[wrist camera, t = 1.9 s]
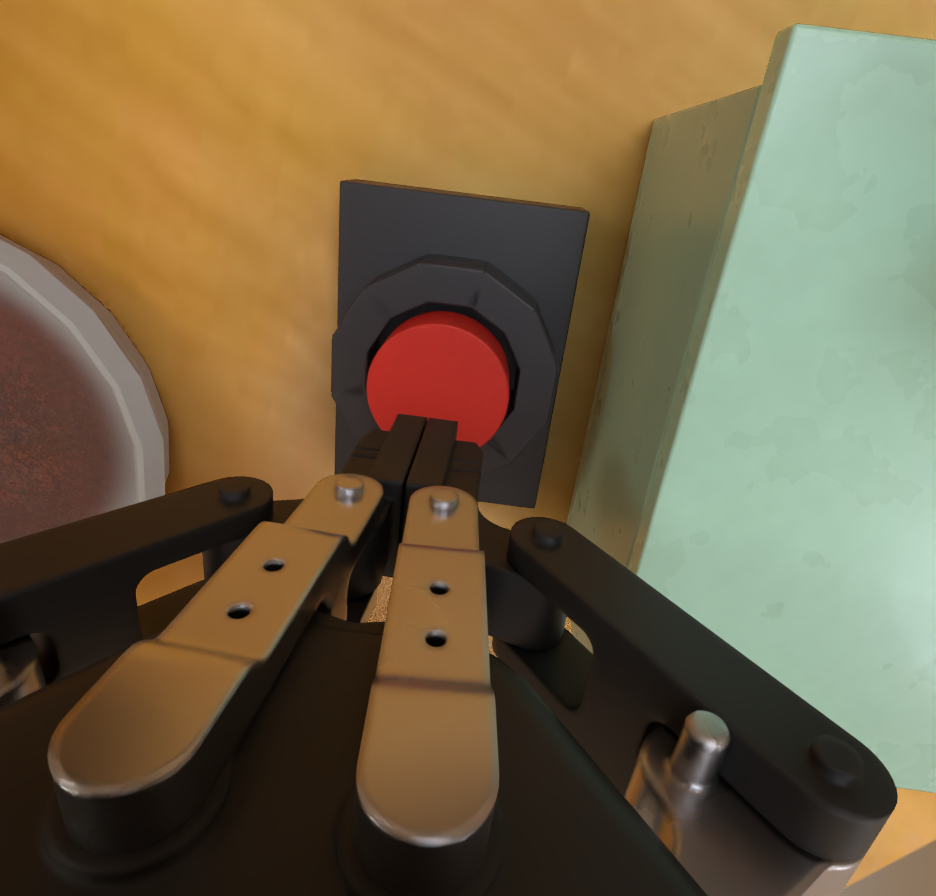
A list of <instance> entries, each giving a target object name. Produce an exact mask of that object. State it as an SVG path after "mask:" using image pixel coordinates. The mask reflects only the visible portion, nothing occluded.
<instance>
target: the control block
mask: <svg viewBox="0 0 936 896" xmlns="http://www.w3.org/2000/svg"><path fill="white" fill-rule="evenodd" d="M589 216H590V213H589V212H588V211H586V210H585V209H583V208H580V207H572V206H564V205H556V204H548V203H540V202H532V201H524V200H516V199H508V198H500V197H492V196H484V195H476V194H468V193H461V192H453V191H445V190H437V189H429V188H421V187H413V186H405V185H397V184H389V183H381V182H373V181H365V180H357V179H355V180H344V181H341V182H340V213H339V267H338V320H337V329H336V331H335V333H334V334H333V336H332V337H333V338H332V369H331V392H332V394H331V395H332V397H333V399H334V401H335V403H336V427H335V475H337V474H340V473H341V471H342V469H343V467H344V466H345V464H346V462H347V461H348V459H349V457H350V456H351V454H352V452H353V450H354V449H355V448H356V445H357V444H358V442H359V440H360V438H361V437H362V436H364V435H365V434H367V433H369V432H371V431H373V430H375V429H376V430H381V429H380V427H379V426H378V424H377V423H376V421H375V419H374V417H373V415H372V413H371V410H370V407H369V404H368V399H367V389H366V384H367V376H368V372H369V368H370V365H371V363H372V360H373V358H374V357H375V355H376V353H377V352H378V350H379V349H380V348H381V346H382V345H383V343H384V342H385V341H386V339H387V338H388V337H389V335H390V334H391V333H392V332H393V331H394V330H395V329H396V328H397V327H398V326H399V325H400V324H402V323H403V322H405V321H406V320H408V319H410V318H412V317H414V316H416V315H419V314H422V313H426V312H431V311H450V312H455V313H459V314H462V315H465V316H468V317H470V318H472V319H474V320H476V321H478V322H479V323H481V324H482V325H483V326H485V327H486V328H487V329H488V330H489V331H490V332H491V333H492V334H493V335H494V336H495V337H496V339H497V340H498V342H499V343H500V345H501V347H502V348H503V350H504V352H505V355H506V358H507V361H508V366H509V376H510V384H509V404H508V408H507V412H506V415H505V418H504V420H503V422H502V424H501V426H500V428H499V429H498V430H497V432H496V433H495V434H494V436H493V437H492V438H491V439H490V440H489V441H488V442H486V443H485V444H484V445H483V446H481V447H480V449H481V450H482V451H483V462H482V470H481V479H480V488H479V496H478V501H481V502H488V503H496V504H503V505H511V506H518V507H526V508H535V505H536V499H537V494H538V489H539V483H540V478H541V473H542V467H543V462H544V457H545V451H546V446H547V441H548V435H549V430H550V425H551V419H552V414H553V408H554V403H555V398H556V392H557V387H558V382H559V376H560V371H561V366H562V360H563V355H564V350H565V344H566V339H567V334H568V328H569V323H570V318H571V312H572V307H573V302H574V296H575V291H576V286H577V280H578V275H579V270H580V264H581V259H582V253H583V248H584V243H585V237H586V232H587V227H588V221H589Z"/></svg>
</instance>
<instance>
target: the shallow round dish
mask: <svg viewBox="0 0 936 896" xmlns="http://www.w3.org/2000/svg"><path fill="white" fill-rule="evenodd" d="M168 474H169V430H168V420H167V417H166V414H165V411H164V408H163V405H162V403H161V400H160V397H159V394H158V391H157V389H156V386H155V383H154V380H153V377H152V375H151V372H150V369H149V366H148V365H147V364H146V362H145V361H144V359H143V358H142V356H141V355H140V353H139V352H138V351H137V349H136V348H135V346H134V345H133V343H132V342H131V341H130V339H129V338H128V336H127V335H126V333H125V332H124V330H123V329H122V328H121V326H120V325H119V323H118V322H117V320H116V319H115V317H114V316H113V315H112V313H111V312H110V311H109V310H108V309H107V308H106V307H104V306H103V305H102V304H101V303H100V302H99V301H98V300H97V299H95V298H94V297H93V296H92V295H91V294H90V293H89V292H88V291H86V290H85V289H84V288H83V287H82V286H81V285H80V284H78V283H77V282H76V281H75V280H74V279H73V278H72V277H71V276H69V275H68V274H67V273H66V272H65V271H64V270H63V269H62V268H60V267H59V266H58V265H57V264H55V263H53V262H51V261H49V260H47V259H45V258H44V257H42V256H40V255H38V254H36V253H34V252H32V251H30V250H28V249H26V248H24V247H23V246H21V245H19V244H17V243H15V242H13V241H11V240H9V239H7V238H5V237H4V236H2V235H0V544H1V543H4V542H7V541H11V540H14V539H18V538H21V537H24V536H28V535H31V534H34V533H38V532H41V531H45V530H48V529H51V528H55V527H58V526H62V525H65V524H68V523H72V522H75V521H79V520H82V519H85V518H89V517H92V516H95V515H99V514H102V513H106V512H109V511H112V510H116V509H119V508H123V507H126V506H129V505H133V504H136V503H140V502H143V501H146V500H150V499H153V498H156V497H160V496H163V495H165V482H166V479H167V477H168Z"/></svg>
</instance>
